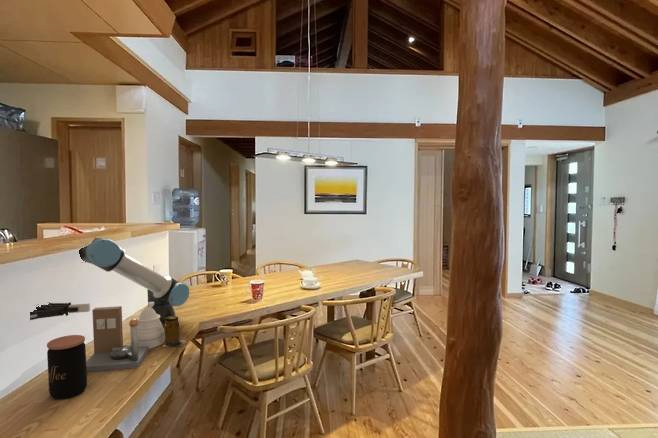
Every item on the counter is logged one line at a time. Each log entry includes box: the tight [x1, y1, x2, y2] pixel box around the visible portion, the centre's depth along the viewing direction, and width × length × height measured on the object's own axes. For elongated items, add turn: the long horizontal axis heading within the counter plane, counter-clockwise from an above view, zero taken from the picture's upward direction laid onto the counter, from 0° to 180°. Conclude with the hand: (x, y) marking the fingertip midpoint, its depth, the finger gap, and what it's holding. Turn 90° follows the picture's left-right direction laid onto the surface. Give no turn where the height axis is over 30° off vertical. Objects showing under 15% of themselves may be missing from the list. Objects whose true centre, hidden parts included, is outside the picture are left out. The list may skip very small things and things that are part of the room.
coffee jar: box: [46, 334, 88, 401], centre depth 130 cm, size 11×11×18 cm
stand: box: [86, 305, 150, 373], centre depth 154 cm, size 16×20×20 cm
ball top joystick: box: [111, 318, 138, 361], centre depth 153 cm, size 12×10×16 cm
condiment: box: [161, 315, 187, 348], centre depth 172 cm, size 7×8×12 cm
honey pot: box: [135, 302, 165, 349], centre depth 172 cm, size 13×13×18 cm
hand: (88, 307), depth 144 cm, fingers closed
